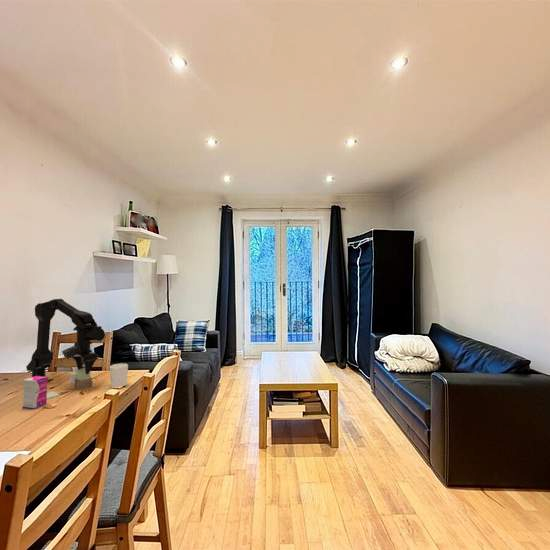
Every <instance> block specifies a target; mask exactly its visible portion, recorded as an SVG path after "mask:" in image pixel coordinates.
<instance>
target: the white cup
mask: <svg viewBox="0 0 550 550" xmlns="http://www.w3.org/2000/svg"><path fill="white" fill-rule="evenodd" d="M128 373H129V364H127V363H115V364H112V365H110V366H109V378H110V379H109V380H110V387H119V386H124V385H126V384H128ZM126 386H127V385H126Z"/></svg>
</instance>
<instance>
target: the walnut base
mask: <svg viewBox="0 0 550 550" xmlns="http://www.w3.org/2000/svg"><path fill="white" fill-rule="evenodd" d="M75 387H76V388H77V389H76V388H75ZM92 387H93V378H91V377H90V379H86V380H82V381H79V380H77V379H75V383H74V388H75V389H76V390H78V391H79V389H80V390H84V389H88V388H92Z"/></svg>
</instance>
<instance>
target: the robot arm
mask: <svg viewBox="0 0 550 550" xmlns="http://www.w3.org/2000/svg"><path fill="white" fill-rule="evenodd" d="M57 310H58V311H59V312H61V313H63V314H64V315H66V316H67V317H69V318H70V320H71V322H72V324H73V325H74V326H75V327H74V328H73V329H72V330H73V331H76V341H75V342H74V345H73V346H71V347H67V348H66V349H64V350H62V351H61V353H62V355H63V357H64V358H65V359H67V360H68V359H73V360H74V361H75V365H76V368H77V369H82V368H83V366H84V368H85V372H86V374H89V372H90V373H91V370H92V368H93V366H94V364H95V363H96V361H97V360H98V359H99V354H98V353H96V352H94V351H93V350H92V349H91V345H92V344H93V341H95V342H101V341H103V340H104V339H105V336H106V332H105V329H103V328H102V326H100V325H98V324H97V322H96V321H95V319H94V317H93V315H92V313H90V312H88V311H83V310H79V309H77V308H76V307H74V306H73V305H71V304H70V303H68V302H66V301H65V300H64V299H62V298H54V299H50V300H49V301H45V302H42V303H41V302H39V303H37V304H36V305H35V307H34V316H35V317H36V319H37V321H38V322H37V323H38V324H37V326H38V327H37V337H36V349H35V350H34V351H33V353H32V355H31V360H30V361H29V362H28V363H27V365H26V367H25V368H26V371H27V372H31V377H34V376H42V377H47V376H46V369H47V368H50V367H51V365H52V362H53V360H54V356H53V355H54V352H53V351H51V350H50V348H49V346H50V332H51V321H52V320H53V317H54V316H55V314H56V311H57ZM47 380H48V381H49V379H48V378H47Z"/></svg>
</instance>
